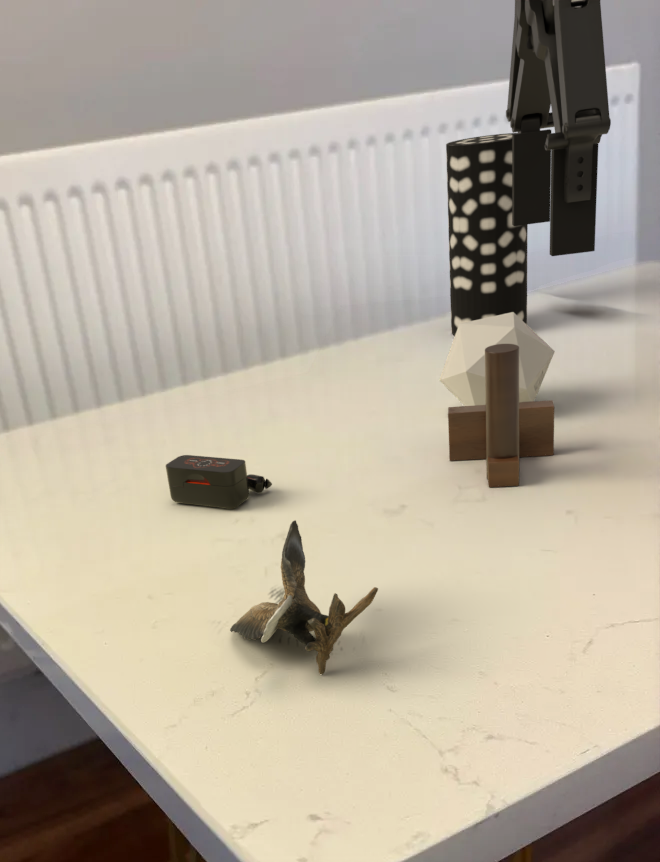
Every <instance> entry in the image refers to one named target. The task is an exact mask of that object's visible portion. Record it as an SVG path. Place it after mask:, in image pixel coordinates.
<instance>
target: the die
mask: <svg viewBox="0 0 660 862" xmlns="http://www.w3.org/2000/svg"><path fill="white" fill-rule="evenodd" d="M497 344H514V345H518V346H519V402H534V401H536V399H537V396H538V393H539V391H540V389H541V386H542V384H543V381H544V379H545V376H546V374H547V371H548V369H549V367H550V364H551V362H552V360H553V357H554V354H555V353H556V352H555V350H554V349H553V348H552V347H551V346H550V345H549V344H548V343H547V342H546V341H545V340H544V339H543V338H541V337H540V335H538V334H537V333H536V332H535V331H534V330H533V329H532V328H531V327H530V326H529V325H528V323H527V324H525V323H524V322H523V321H522V320H521V319H520V318H519V317H518V316H517V315H516V314H515V313H514V312H511V313H506V314H502V315H497V316H493V317H488V318H483V319H479V320H474V321H470V322H465V323H460V324H459V326H458V329H457V332H456V335H454V337H453V340H452V343H451V346H450V349H449V352H448V355H447V356H446V360H445V363H444V366H443V368H442V371H441V374H440V377H439V382H440V383H441V384H442V385H443V386H444V387H445V388H446V389H447V390H448V391H449V392H450V393H451V394H452V395H453V396H454V397H455V398H456V399H457V400H458V401H459V402H460V403H461V404H462V406H474V405H485V349H486V348H487V347H489V346H492V345H497Z"/></svg>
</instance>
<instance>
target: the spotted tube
mask: <svg viewBox="0 0 660 862" xmlns="http://www.w3.org/2000/svg"><path fill="white" fill-rule="evenodd" d="M512 134H518V132H514V133H513V132H509V133H507V132H506V133H498V134H488V135H487V134H486V135H481V136H474V137H468V138H462V139H457V140H453V141H450V142H447V143H446V144H445V149H446V150H445V152H446V153H445V154H446V156H445V157H446V188H447V192H446V193H447V224H448V225H447V227H448V259H449V295H450V330H451V331H450V332H451V335H453V336H455V335H456V332H457V329H458V326H459V324H460V323H465V322H470V321H474V320H479V319H483V318H488V317H493V316H497V315H502V314H506V313H511V312H514V313H515V314H516V315H517V316H518V317H519V318H520V319H521V320H522V321H523V322H524V323H525V324H527V325H528V231H529V230H528V225H529V224H527V225H519V226H513V225H512Z"/></svg>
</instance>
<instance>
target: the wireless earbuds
mask: <svg viewBox="0 0 660 862" xmlns="http://www.w3.org/2000/svg"><path fill="white" fill-rule="evenodd" d="M165 470H166V476H167V482H168V487H169V488H168V489H169V495H170V499H171V500H172V501H173V503H177V504H185V505H186V504H187V505H193V506H194V505H195V506H201V507H202V506H203V507H210V508H220V509H229V510H234V509H236V508H238V507H239V506H240V505H242V504H243V503H245V502H246V501H247V500H248V499H249V498H250V491H252V492H253V493H255V494H261V493H262V492H264V490H268V489H269V488H270V487H272V486H273V483H272V481H271V480H269V479H268V478H265V476H263V475H260V474H259V475H258V474H252V473H250V474H248V472H247V463H246V461H245V460H244V459H238V458H229V457H214V456H202V455H191V454H182V455H180V456H177V457H176V458H174V459H172V460H170V461H169V462H167V463H166V464H165Z"/></svg>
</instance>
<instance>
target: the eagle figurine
mask: <svg viewBox="0 0 660 862" xmlns="http://www.w3.org/2000/svg"><path fill="white" fill-rule="evenodd" d="M302 541H303V539H302V535H301V533H300V530H299V525H298V523H297V520H296V519H295V520H292V522H291V523H290V525H289V528H288V531H287V534H286V537H285V541H284V544H283V547H282V552H281V559H280V572H281V581H282V586H283V589H284V593H283V597H282V598H281V600H280V601H279V602H278V603H276V602H269V601H267V602H260V603H258V604H256V605H255V604H254V605H253V606H252V607H251V608H249V610H248V611H247V612H246V613H244V614H243V615H242V616H241V617H240V618H239V619H238V620H237V621H236V622H235V623H234V624H232V625H231V627H230V630H229V631H230V632H231V633H233V632H234V633H238V634H239V635H241V637H243V638H244V640H248V641H249V640H253V641H256V640H257V639H260V641H261V643H262V644H264V643H266V642H268V640H270V639H271V637H272V636H273V635H274V634H276V632H277V630H282V631H284V632H288V633H289V634H290V635H292V637H293V638H294V639H295V640H296V641H297V642H298V643H301V644H302V645H304V646H305V647H304V649H305V651H307V652H311V651H315V652H317V654H316V656H315V661H316V664H317V668H318V673H319V675H320V674H322V675H324V674H325V672H326V666H327V661H329V660H330V658H331V653H332V652H333V651H334V645H335V644H336V643H337V641H338V639H339V638H340V637H341V636H342V633H343V631H344V629H346V627H348V626H349V625H350V624H351V623H352V622H353V621H354V620H355V619H356V618H357V617H358V616H359V615H360V614H361V613H363V611H365V610H366V609H367V608H368V607H370V605H371V604H372V602H373V601H374V599H375V597H376V595H377V593H378V591H379V588H378V587H376V586H374V587H373V588H372V589H371V590H370V591H369V592H368V593H367V595H365V596H364V597H362V598H361V599H360V600H359V601H358V602H357V603H356V604H355V605H354V606H353V607H352V608H351V609H350V610H349V611H347V612H346V606H345V603H344V602H343V601H342V600H341V599H340V598H339V595H338V593H336V592H334V593H333V595H332V599H331V603H330V606H329V608H328V615H327V614H323V613H322V612H321V610H320V608H319V607H318V606H317V605H316V604H315V603H314V602H313V601H312V600H311V599H310V598H309V595H308V593H307V591H306V586H305V584H306V576H305V568H306V555H305V552H304V546H303V542H302ZM311 632H313V633H314V635H313V634H312V633H311Z"/></svg>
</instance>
